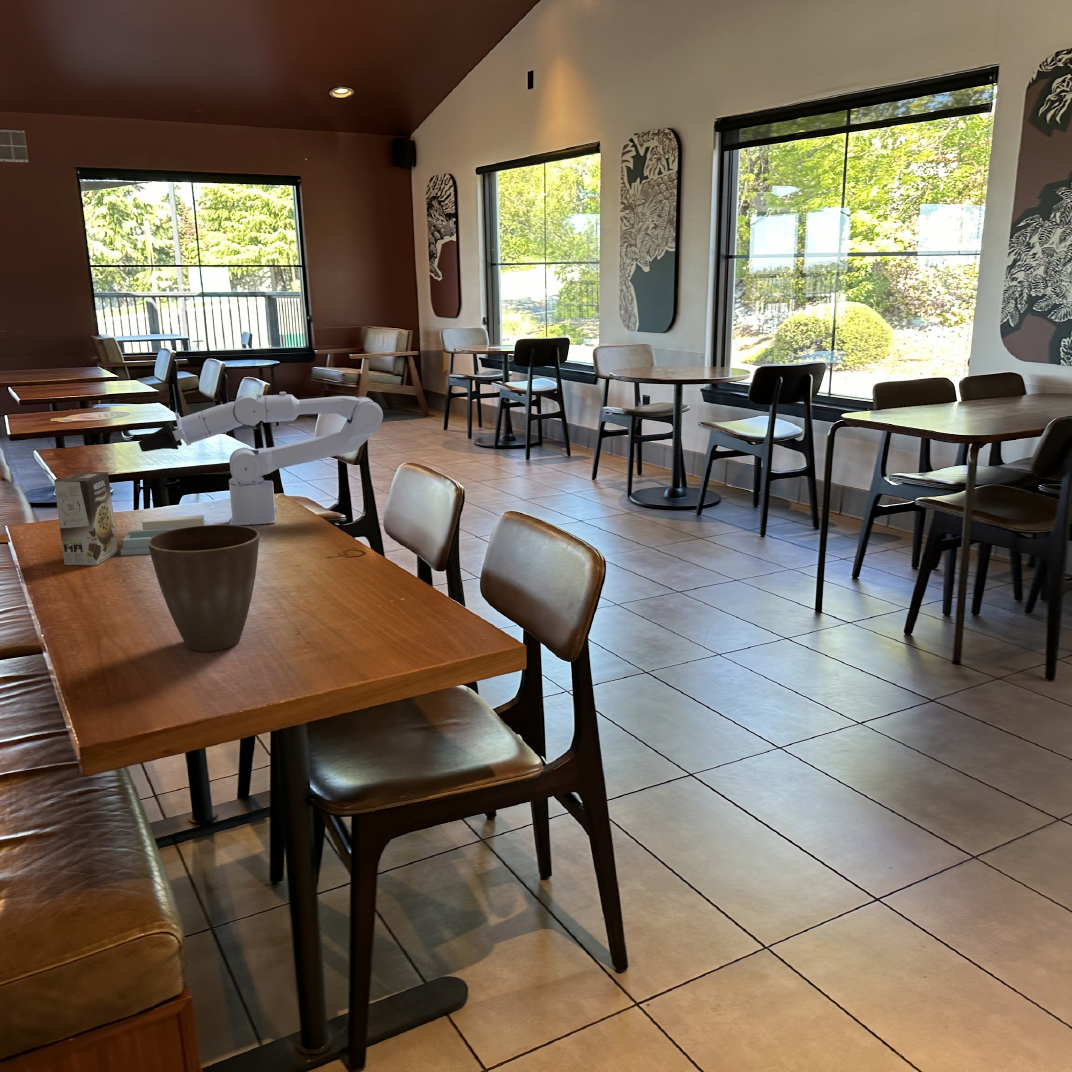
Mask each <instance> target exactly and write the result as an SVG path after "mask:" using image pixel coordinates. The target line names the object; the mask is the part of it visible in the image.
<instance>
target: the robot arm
mask: <svg viewBox="0 0 1072 1072" xmlns="http://www.w3.org/2000/svg"><path fill="white" fill-rule="evenodd" d="M325 414H327V415H328V414H337V415H339V416H341V417H343V418H345V419H346V420H345V422H344V424H343V427H342V428H341V430H340V431H337V432H334V433H330V434H325V435H321V436H316V437H312V438H309V439H303V440H300V441H295V442H291V443H286V444H282V445H276V446H272V447H259V448H254V449H252V448H248V447H241V448H238V449H236V450H234V451H233V452H232V453H231V454H230V456H229V460H228V463H229V467H230V468H229V471H230V474H231V476H232V477H231V478H230V479H228V487H229V497H230V507H231V517H230V522H229V525H238V526H248V525H249V526H250V525H251V524H252V525H262V524H263V525H265V524H266V525H267V523H268V524H275V523H276V519H277V518H276V517H277V516H276V514H278V513H277V511H278V510H277V505H276V503H275V493H274V491H275V489H274V481H273V480H265V479H264V475H265V476H266V475H268V474H271V473H273V472H274V471H276V470H279V469H285V468H288V467H293V466H297V465H301V464H305V463H310V462H314V461H317V460H322V459H327V458H331V457H335V456H341V455H344V454H348V453H352V452H355V451H357V450H358V449H359V448H360V447H361V446H363V444H364V443H366V442H367V440H368V439H370V438H371V437H372V436H373V435H374V434H376V433H377V432H378V431H379V429H380V426H381V424H382V422H383V419H384V413H383V409H382V407H381V406H380V405H379V404H378V403H377V402H374V400H372V399H371V398H370V397H366V396H359V397H357V396H352V395H351V396H349V395H337V396H328V397H316V398H304V399H297V398H296V397H295V396H294V395H293V394H287V392H286V391H279V394H273V395H270V394H269V395H262V393H257V394H256V397H254V396H251V395H240V396H238V397H237V398H236V399H235V400H234V401H229V402H226V403H224V404H222V403H221V404H218V405H216V406H213V407H209V408H206V409H204V410H200V411H198V412H194V413H191V414H188V415H185V416H182V417H181V416H180V414H179V412H176V413H174V417H175V418H176V420H175V421H176V425H177V427H175V426H174V424H173V422H172V420H169V421H168V422H166V423H165V425H164V426H162V427H161V428H160V429H158V430H156V431H155V432H152V433H150V434H149V435H147V436H145V437H143V438H142V439H141V440H139V441H138V442H137V443H138V445H139V447H140V450H141V452H151V451H152V452H153V451H157V450H166V449H167V450H179V447H182V446H183V443H182V441H183V442H184V443H185V445H186V446H187V447H188V446H191V445H192V444H194V443H198V442H200V441H203V440H206V439H209V438H212V437H214V436H218V435H221V434H223V433H227V432H230V431H232V430H233V429H236V428H239V427H241V426H243V425H246V426H255V425H257V424H259V423H260V421H261V422H263V423H276V422H293V421H295V420H296V419H297V418H298V417H299V415H325Z"/></svg>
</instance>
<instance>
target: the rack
mask: <svg viewBox="0 0 1072 1072" xmlns="http://www.w3.org/2000/svg"><path fill="white" fill-rule="evenodd" d="M174 529H179V528H170V529H153V530H143V529H140V530H129V531H128V532H127V534H126V535H125V537H124V538H123V539H122V548H121V550H120V555H121V556H133V555H134V556H135V555H149V554H150V550H149V546H148V541H149V539H150V538H152V537H153V536H155V535H157V534H160V533H163V532H166V531H170V530H174ZM150 555H151V554H150Z"/></svg>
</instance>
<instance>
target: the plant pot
mask: <svg viewBox="0 0 1072 1072" xmlns="http://www.w3.org/2000/svg"><path fill="white" fill-rule="evenodd" d="M259 543H260V532H259V531H258V530H256V529H255V528H253V527H249V526H246V525H230V524H205V525H201V526H192V527H185V528H179V529H174V530H170V531H166V532H163V533H160V534H157V535H155V536H153V537H152V538H150V539H149V541H148V546H149V550H150V557H151V560H152V561H151V562H152V565H153V568H154V572H155V575H156V579H157V581H158V584H159V588H160V590H161V593H162V595H163V599H164V600H165V603H166V605H167V609H168V611H169V613H170V615H171V618H172V620H173V623H174V624H175V626H176V628H177V630H178V632H179V635H180V636H181V638H182V640H183V641H184V644H185V646H186V647H187V648H188V649H189V650H192V651H194V652H195V651H196V652H202V653H203V652H216V651H222V650H226V649H230V648H232V647H234V646H236V645H237V644H239V642H240V640H241V638H242V635H243V632H244V628H245V625H246V622H247V618H248V614H249V610H250V606H251V603H252V602H251V601H252V597H253V596H252V595H253V591H254V586H255V579H256V575H257V566H258V557H259V546H260V545H259Z"/></svg>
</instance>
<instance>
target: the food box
mask: <svg viewBox="0 0 1072 1072" xmlns="http://www.w3.org/2000/svg"><path fill="white" fill-rule="evenodd" d="M53 483H54V491H55V500H56V506H57V507H56V508H57V515H58V522H59V523H58V524H59V531H60V540H61V545H62V553H63V563H64V566H97V565H99V564H101V563H102V562H104V561H106V560H107V559H109V558H111V557H113V556H114V555H116V554H118V545H117V544H118V543H117V536H116V527H115V519H114V511H113V502H112V495H111V484H110V477H109V472H108V471H97V472H95V471H94V472H93V471H92V472H75V473H73V474H70V475H68V476H65V477H62V478H59V479H57V480H54V481H53Z"/></svg>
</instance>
